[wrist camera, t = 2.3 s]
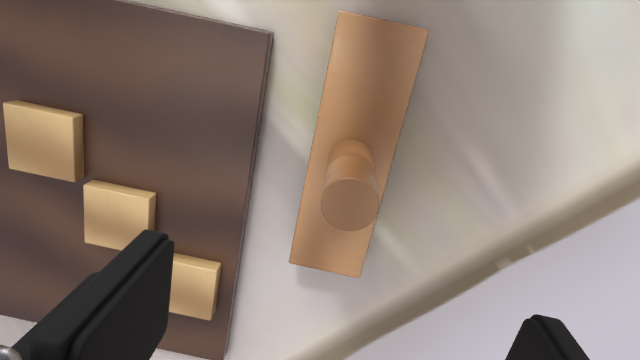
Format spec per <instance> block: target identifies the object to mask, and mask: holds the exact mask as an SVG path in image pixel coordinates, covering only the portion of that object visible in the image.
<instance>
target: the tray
mask: <svg viewBox="0 0 640 360" xmlns="http://www.w3.org/2000/svg"><path fill="white" fill-rule="evenodd" d="M272 40H273V32H270V31H265V30H260V29H256V28H251V27H246V26H242V25H237V24H233V23H228V22H223V21H219V20H214V19H209V18H205V17H200V16H195V15H191V14H186V13H181V12H177V11H172V10H167V9H163V8H158V7H153V6H149V5H144V4H139V3H135V2H130V1H125V0H0V315H4V316H9V317H13V318H18V319H23V320H27V321H32V322H37V323H38V322H39V321H40V320H42V319H43V318H44V317H45V316H46V315H47V314H48V313H49V312H50V311H51V310H52V309H53V308H55V307H56V306H57V305H58V304H59V303H60V302H61V301H62V300H63V299H64V298H65V297H66V296H68V295H69V294H70V293H71V292H72V291H73V290H74V289H75V288H76V287H77V286H78V285H79V284H80V283H82V282H83V281H84V280H85V279H86V278H87V277H88V276H89V275H91V274H92V273H95V272H100V271H101V270H102V269H103V268H104V267H105V266H106V265H107V264H108V263H109V262H110V261H111V260H112V259H114V258H115V257H116V256H117V255H118V254H119V253H120V252H121V251H122V250H117V249H113V248H108V247H103V246H99V245H94V244H89V243H85V234H84V189H83V186H84V185H85V184H86V183H88V182H90V181H91V180H98V181H103V182H108V183H112V184H117V185H122V186H126V187H131V188H136V189H140V190H145V191H150V192H154V193H156V212H155V231H156V232H161V233H165V234H167V235H168V237H169V240H171V241H174V253H178V254H182V255H187V256H192V257H196V258H201V259H206V260H210V261H215V262H220V263H221V271H220V279H219V287H218V295H217V303H216V311H215V313H214V315H213V317H212V319H211V321H210V320H205V319H200V318H196V317H191V316H186V315H182V314H177V313H172V312H169V316H168V325H167V329H166V332H165V334H164V336H163V338H162V340H161V341H160V343H159V344H158V346H157V348H158V349H163V350H167V351H172V352H177V353H181V354H186V355H191V356H195V357H200V358H205V359H209V360H224V358H225V356H226V353H227V347H228V340H229V333H230V326H231V320H232V313H233V306H234V299H235V292H236V286H237V279H238V272H239V265H240V258H241V251H242V245H243V238H244V231H245V224H246V217H247V211H248V204H249V197H250V190H251V183H252V176H253V170H254V163H255V156H256V149H257V142H258V136H259V129H260V122H261V115H262V108H263V101H264V95H265V88H266V81H267V74H268V67H269V61H270V54H271V47H272ZM14 100H19V101H23V102H28V103H33V104H37V105H42V106H47V107H51V108H56V109H61V110H65V111H70V112H75V113H79V114H83V135H84V177H83V178H82V179H80V180H78V181H76V182H70V181H65V180H61V179H56V178H51V177H47V176H42V175H37V174H33V173H28V172H23V171H19V170H14V169H10V168H9V162H8V152H7V142H6V131H5V121H4V110H3V103H5V102H9V101H14Z"/></svg>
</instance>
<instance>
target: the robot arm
mask: <svg viewBox="0 0 640 360" xmlns="http://www.w3.org/2000/svg"><path fill="white" fill-rule="evenodd" d="M173 258H174V241H171V240H169V237H168V235H167V234H165V233H161V232H156V231H152V230H147V229H145V230H143V231H142V232H141V233H140V234H139V235H138V236H137V237H136V238H135V239H134V240H132V241H131V242H130V243H129V244H128V245H127V246H126V247H125V248H124V249H123V250H122V251H121V252H120V253H119V254H118V255H117V256H116V257H115V258H114V259H112V260H111V261H110V262H109V263H108V264H107V265H106V266H105V267H104V268H103V269H102V270H101V271H100V272H95V273H92V274H91V275H89V276H88V277H87V278H86V279H85V280H84V281H83V282H82V283H80V284H79V285H78V286H77V287H76V288H75V289H74V290H73V291H72V292H71V293H70V294H69V295H68V296H66V297H65V298H64V299H63V300H62V301H61V302H60V303H59V304H58V305H57V306H56V307H55V308H53V309H52V310H51V311H50V312H49V313H48V314H47V315H46V316H45V317H44V318H43V319H42V320H40V321H39V322H38V323H37V324H36V325H35V326H34V327H33V328H32V329H31V330H30V331H29V332H28V333H26V334H25V335H24V336H23V337H22V338H21V339H20V340H19V341H18V342H17V343H16V344H15V345H13V346H12V347H11V348H10V347H6V346H3V345H0V360H149V359H150V357H151V356H152V354H153V353H154V351H155V349H156V348H157V346H158V344H159V343H160V341H161V340H162V338H163V336H164V334H165V332H166V329H167V325H168V316H169V305H170V293H171V281H172V269H173ZM505 360H590V359H589V358H588V357H587V355H586V354H585V353H584V351H583V350H582V348H581V347H580V346H579V344H578V343H577V342H576V340H575V339H574V337H573V336H572V335H571V333H570V332H569V331H568V329H567V328H566V327H565V325H564V324H563V323H562V322H561V321H560V320H558V319H556V318H551V317H546V316H542V315H533V316H532V317H531V318H530V319H526V320H525V321H524V322H523V324H522V326H521V328H520V330H519V332H518V334H517V336H516V338H515V341H514V342H513V345H512V347H511V349H510V351H509V353H508V355H507V357H506V359H505Z"/></svg>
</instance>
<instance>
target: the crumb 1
mask: <svg viewBox="0 0 640 360" xmlns="http://www.w3.org/2000/svg"><path fill="white" fill-rule="evenodd" d="M3 110H4V121H5V131H6V142H7V152H8V162H9V168H10V169H14V170H19V171H23V172H28V173H33V174H37V175H42V176H47V177H51V178H56V179H61V180H65V181H70V182H76V181H78V180H80V179H82V178H83V177H84V135H83V114H79V113H75V112H70V111H65V110H61V109H56V108H51V107H47V106H42V105H37V104H33V103H28V102H23V101H19V100H14V101H9V102H5V103H3Z"/></svg>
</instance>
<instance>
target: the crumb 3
mask: <svg viewBox="0 0 640 360" xmlns="http://www.w3.org/2000/svg"><path fill="white" fill-rule="evenodd" d="M220 271H221V263H220V262H215V261H210V260H206V259H201V258H196V257H192V256H187V255H182V254H178V253H174V258H173V269H172V281H171V293H170V305H169V312H172V313H177V314H182V315H186V316H191V317H196V318H200V319H205V320H210V321H211V319H212V317H213V315H214V313H215V311H216V303H217V295H218V287H219V279H220Z"/></svg>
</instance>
